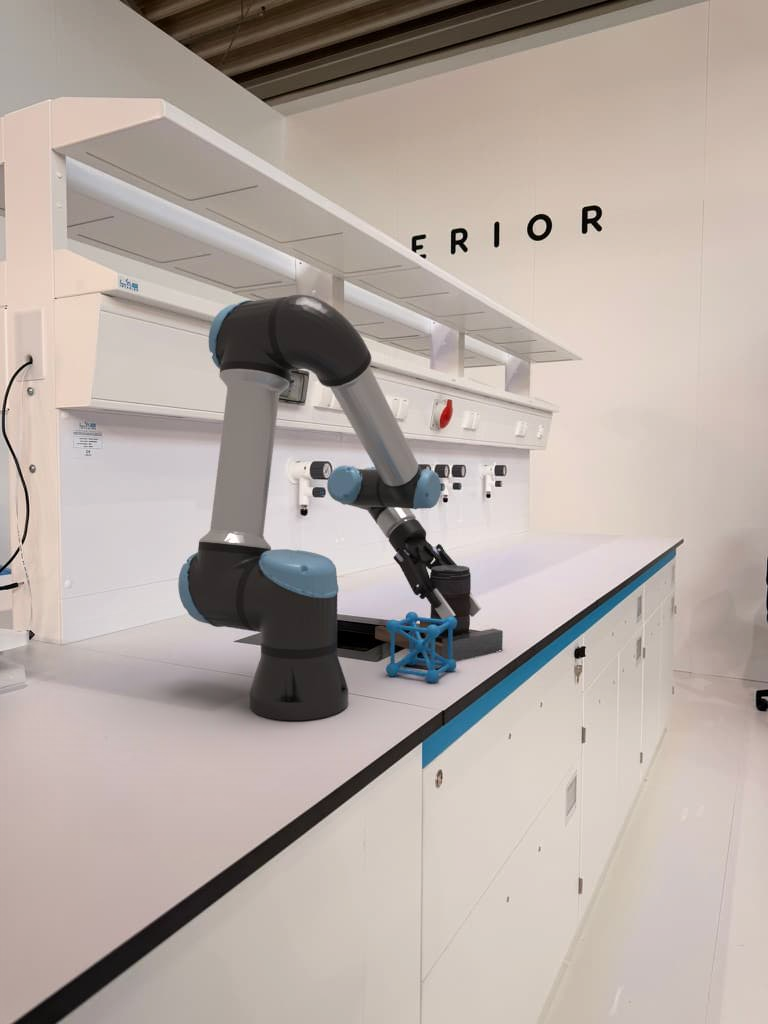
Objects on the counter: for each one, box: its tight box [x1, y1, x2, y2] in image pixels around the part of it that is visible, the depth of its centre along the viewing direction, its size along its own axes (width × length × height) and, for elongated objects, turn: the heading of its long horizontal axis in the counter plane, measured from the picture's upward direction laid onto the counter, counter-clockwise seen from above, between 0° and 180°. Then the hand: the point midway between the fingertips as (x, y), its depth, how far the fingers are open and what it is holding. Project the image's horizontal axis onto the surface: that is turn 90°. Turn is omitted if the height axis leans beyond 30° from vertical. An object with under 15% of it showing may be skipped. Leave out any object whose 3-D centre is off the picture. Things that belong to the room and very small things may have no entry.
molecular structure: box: [385, 611, 457, 684], centre depth 130 cm, size 10×10×10 cm
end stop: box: [442, 628, 504, 662], centre depth 143 cm, size 14×2×4 cm, turn 129°
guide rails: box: [374, 621, 477, 657], centre depth 152 cm, size 14×21×2 cm
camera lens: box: [429, 565, 472, 643], centre depth 147 cm, size 8×8×15 cm
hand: (463, 615), depth 145 cm, fingers closed on camera lens, 8 cm apart
